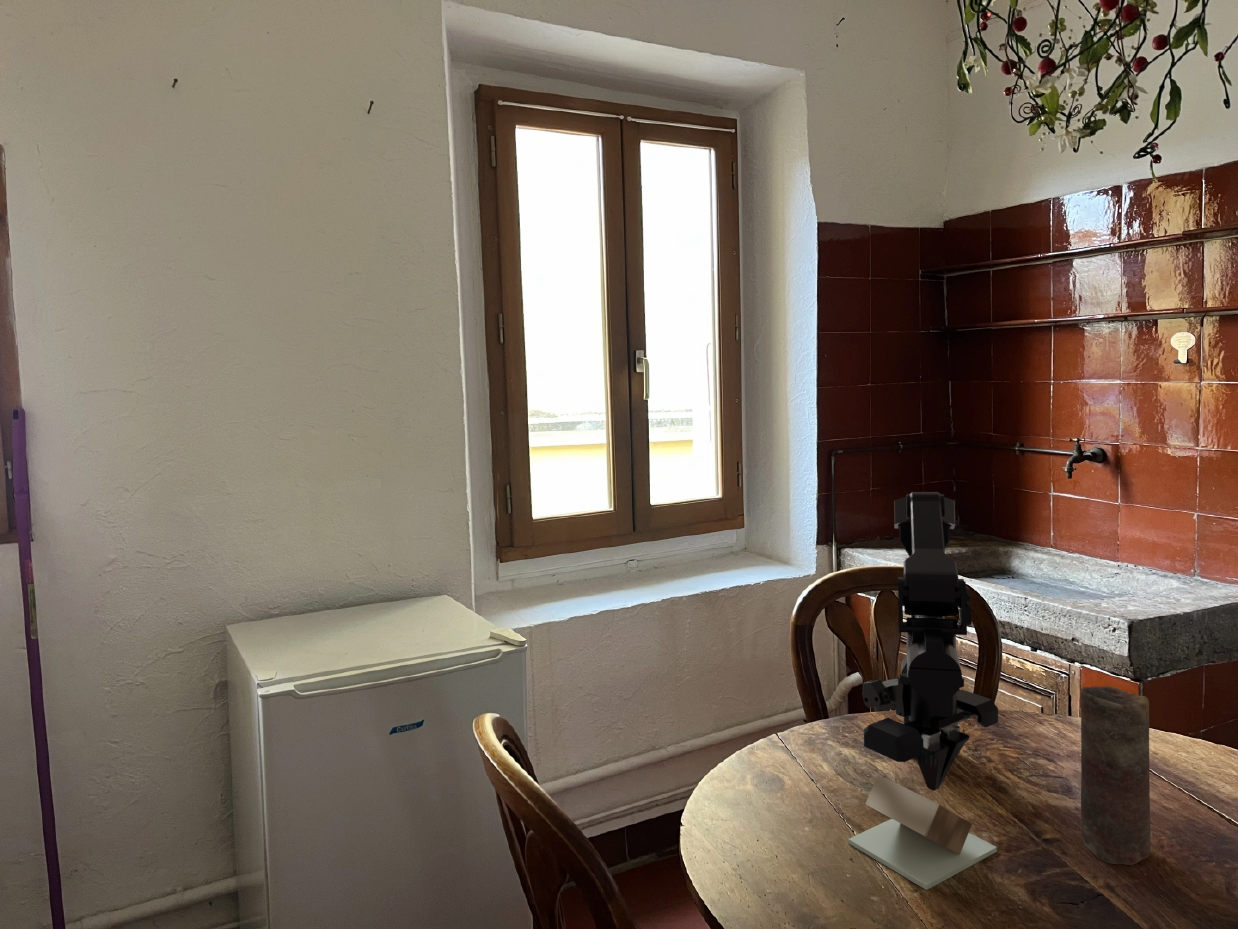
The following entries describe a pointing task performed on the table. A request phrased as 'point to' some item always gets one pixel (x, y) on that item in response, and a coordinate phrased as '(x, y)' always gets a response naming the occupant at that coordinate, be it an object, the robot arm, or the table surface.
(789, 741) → the table surface
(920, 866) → the sage mat
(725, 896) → the table surface
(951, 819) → the walnut slab
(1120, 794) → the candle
